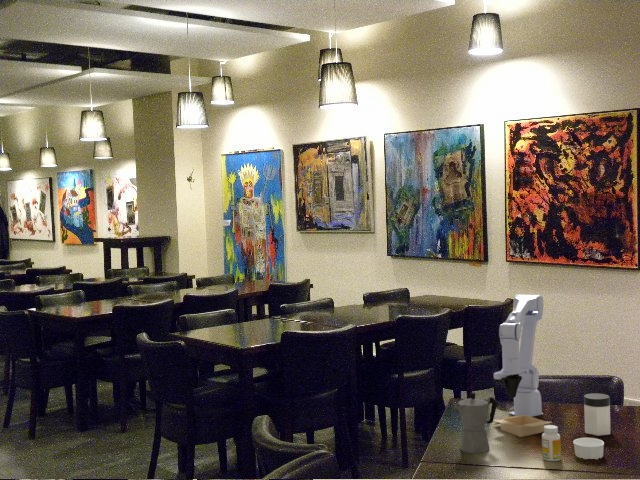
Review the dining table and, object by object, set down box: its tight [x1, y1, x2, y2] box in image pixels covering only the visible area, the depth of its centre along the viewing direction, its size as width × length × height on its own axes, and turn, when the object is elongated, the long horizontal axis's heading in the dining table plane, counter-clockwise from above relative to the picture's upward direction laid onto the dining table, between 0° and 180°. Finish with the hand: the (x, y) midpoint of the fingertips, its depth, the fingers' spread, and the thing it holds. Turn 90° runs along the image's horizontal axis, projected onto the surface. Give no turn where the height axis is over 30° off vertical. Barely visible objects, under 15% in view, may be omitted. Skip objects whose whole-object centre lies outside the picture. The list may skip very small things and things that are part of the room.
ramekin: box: [572, 437, 605, 460], centre depth 242 cm, size 9×9×4 cm
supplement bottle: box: [541, 424, 562, 462], centre depth 241 cm, size 5×5×10 cm
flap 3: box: [525, 415, 550, 426], centre depth 274 cm, size 1×9×5 cm
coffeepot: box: [454, 392, 498, 455], centre depth 253 cm, size 15×9×18 cm, turn 113°
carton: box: [500, 415, 545, 438], centre depth 271 cm, size 10×10×4 cm
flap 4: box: [523, 420, 553, 427], centre depth 264 cm, size 8×1×5 cm
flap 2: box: [493, 415, 522, 426], centre depth 277 cm, size 9×1×5 cm
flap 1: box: [493, 419, 515, 425], centre depth 267 cm, size 1×5×5 cm
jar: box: [583, 392, 611, 437], centre depth 265 cm, size 9×8×12 cm
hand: (512, 396), depth 277 cm, fingers closed
